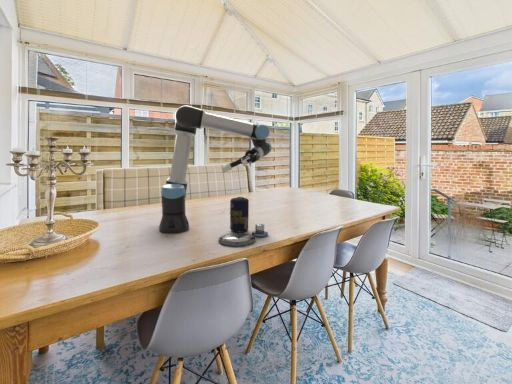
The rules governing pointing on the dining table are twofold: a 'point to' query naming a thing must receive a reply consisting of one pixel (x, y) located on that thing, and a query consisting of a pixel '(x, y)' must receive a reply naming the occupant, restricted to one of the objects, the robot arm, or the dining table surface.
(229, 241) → the flange wide
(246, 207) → the canister
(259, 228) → the flange small
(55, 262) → the dining table surface
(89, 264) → the dining table surface
